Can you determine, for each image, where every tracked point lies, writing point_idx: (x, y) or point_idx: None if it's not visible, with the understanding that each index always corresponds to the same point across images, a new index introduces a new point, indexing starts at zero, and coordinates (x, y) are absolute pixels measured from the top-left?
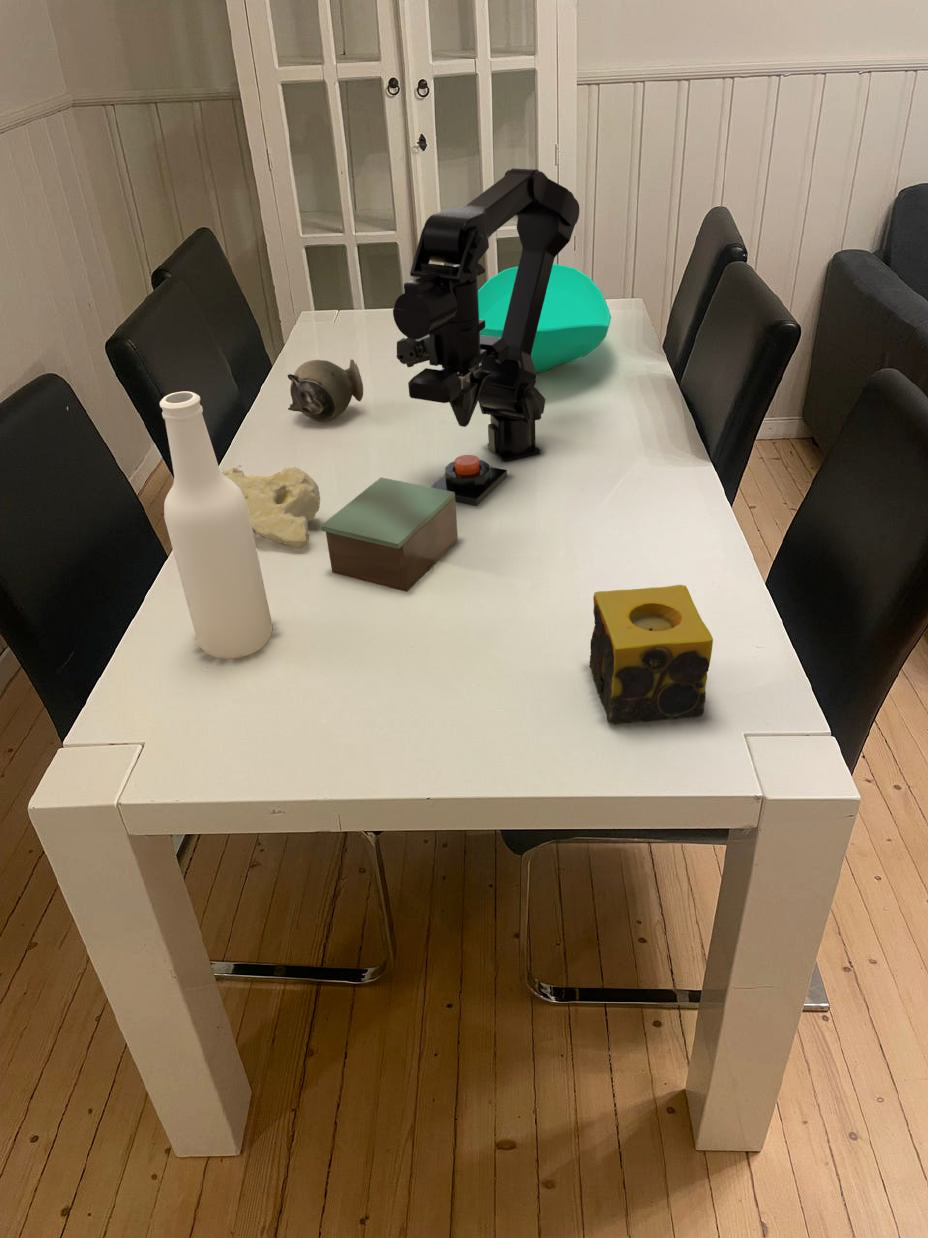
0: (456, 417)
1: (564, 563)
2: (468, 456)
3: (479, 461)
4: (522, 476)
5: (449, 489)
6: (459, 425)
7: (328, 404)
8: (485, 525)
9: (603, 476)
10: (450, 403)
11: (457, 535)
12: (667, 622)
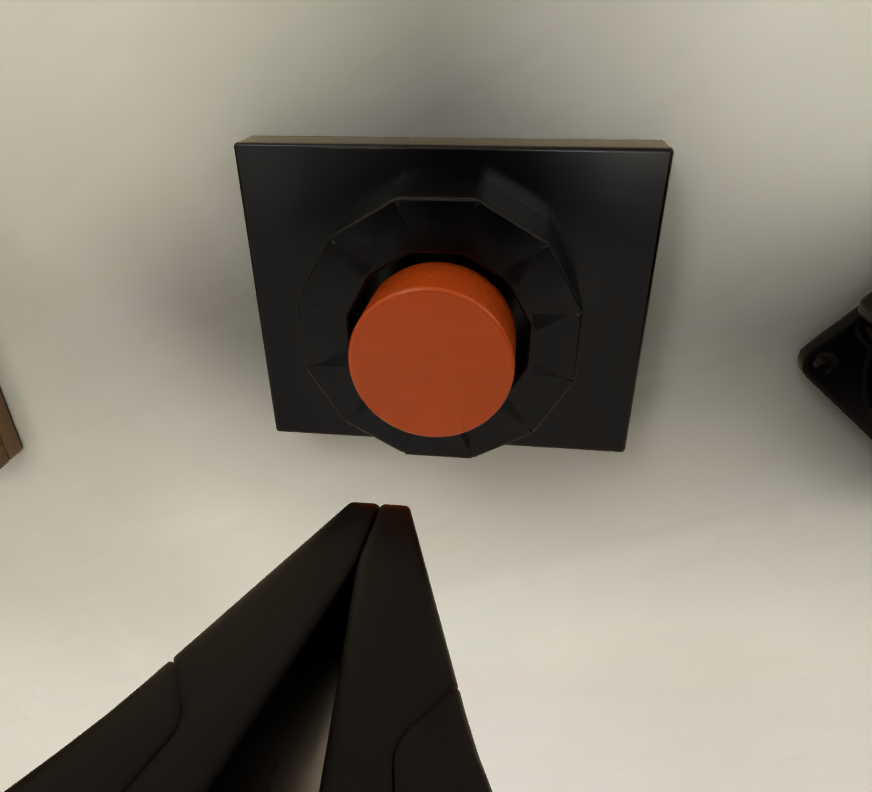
0: (292, 561)
1: None
2: (481, 357)
3: (551, 371)
4: (646, 486)
5: (297, 267)
6: (352, 503)
7: None
8: (181, 492)
9: (722, 727)
10: (131, 703)
11: (2, 465)
12: None
